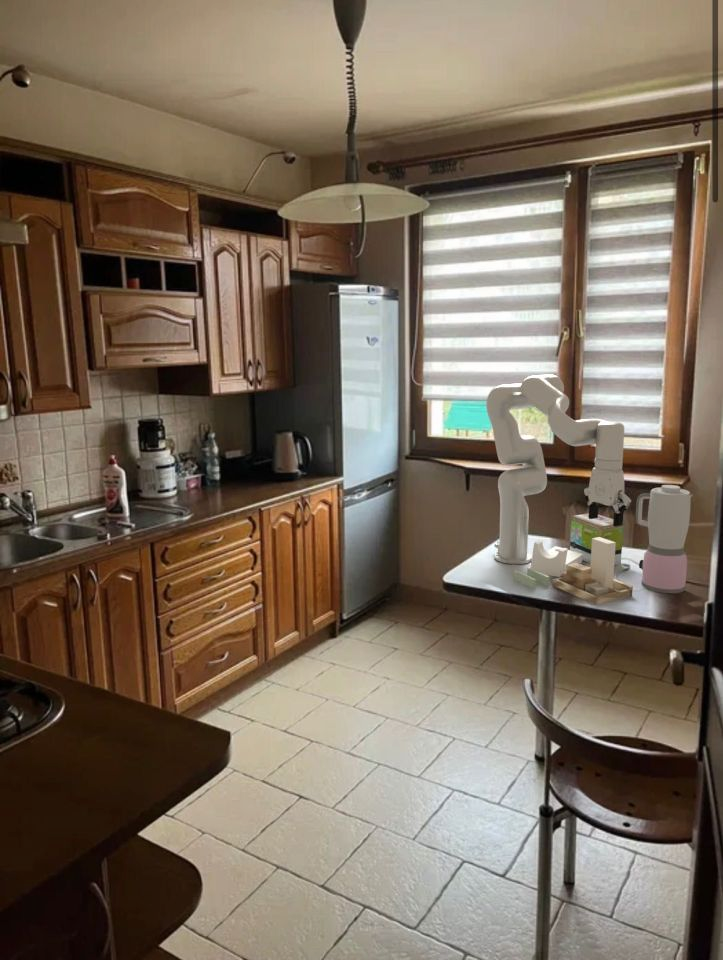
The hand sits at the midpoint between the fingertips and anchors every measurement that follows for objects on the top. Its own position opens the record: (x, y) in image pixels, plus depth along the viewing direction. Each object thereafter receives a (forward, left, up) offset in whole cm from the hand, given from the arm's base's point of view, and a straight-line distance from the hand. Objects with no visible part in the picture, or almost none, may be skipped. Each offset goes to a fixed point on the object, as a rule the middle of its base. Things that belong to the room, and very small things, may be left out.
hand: (605, 522), depth 209 cm
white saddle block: (-22, +2, -22) cm, 32 cm away
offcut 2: (-3, -6, -21) cm, 22 cm away
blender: (+6, +17, -22) cm, 29 cm away
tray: (0, -4, -22) cm, 22 cm away
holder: (-14, -15, -22) cm, 30 cm away
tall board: (0, 0, -21) cm, 21 cm away
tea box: (-24, +21, -22) cm, 39 cm away
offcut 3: (+5, -7, -21) cm, 22 cm away
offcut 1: (-3, -6, -17) cm, 18 cm away
